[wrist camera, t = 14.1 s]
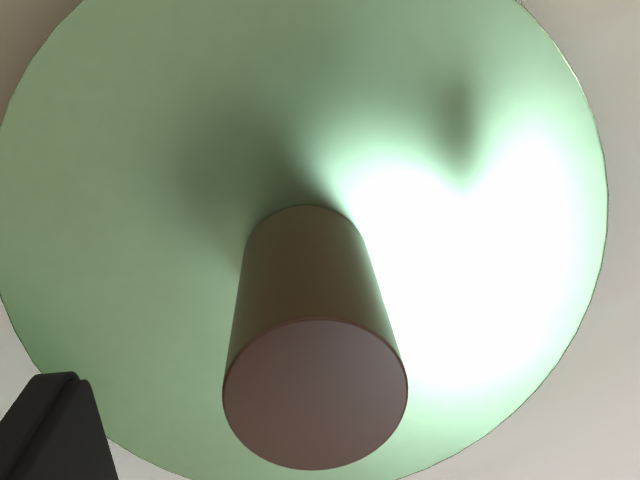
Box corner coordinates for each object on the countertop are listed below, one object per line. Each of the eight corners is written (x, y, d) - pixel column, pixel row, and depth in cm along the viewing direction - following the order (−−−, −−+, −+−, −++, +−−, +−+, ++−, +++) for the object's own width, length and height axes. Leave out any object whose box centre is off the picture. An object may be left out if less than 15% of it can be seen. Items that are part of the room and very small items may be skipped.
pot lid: (614, -110, 14) (890, -194, 7) (568, 439, 20) (699, 647, 13) (-83, -40, 13) (-401, -65, 7) (88, 493, 19) (-5, 729, 13)
